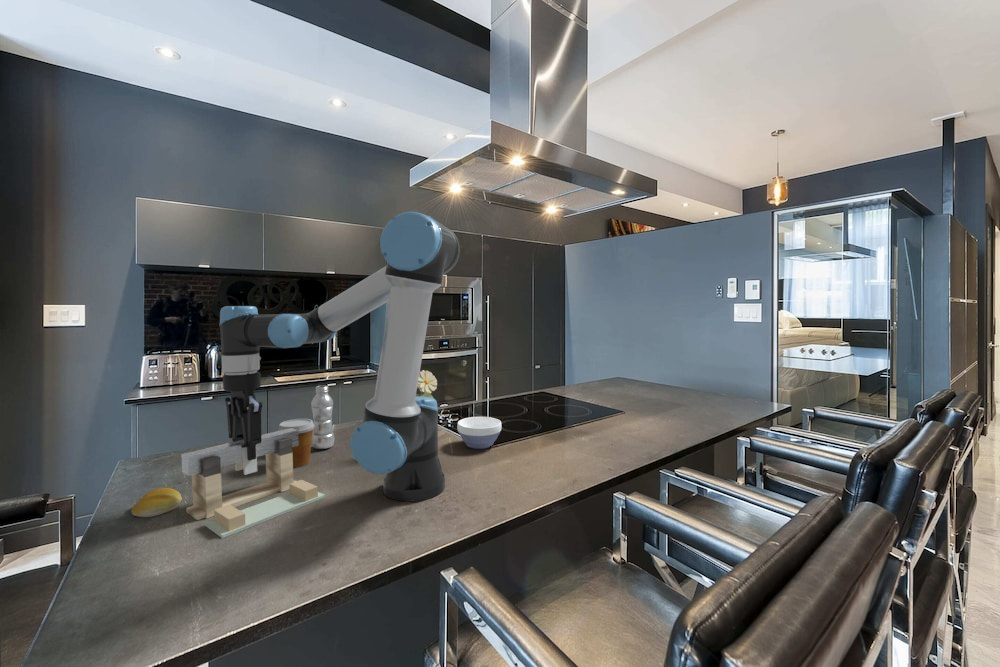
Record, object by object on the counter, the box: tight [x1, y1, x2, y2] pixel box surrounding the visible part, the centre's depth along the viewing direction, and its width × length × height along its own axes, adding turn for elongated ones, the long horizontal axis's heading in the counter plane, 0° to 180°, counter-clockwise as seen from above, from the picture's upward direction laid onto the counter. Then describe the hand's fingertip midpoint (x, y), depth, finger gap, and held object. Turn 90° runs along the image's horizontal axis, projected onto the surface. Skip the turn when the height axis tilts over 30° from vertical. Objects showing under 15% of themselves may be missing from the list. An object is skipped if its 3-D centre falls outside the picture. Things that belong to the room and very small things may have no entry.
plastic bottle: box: [310, 384, 335, 450], centre depth 135 cm, size 6×7×20 cm
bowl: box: [456, 416, 502, 450], centre depth 139 cm, size 14×14×8 cm
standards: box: [186, 438, 297, 521], centre depth 100 cm, size 7×22×12 cm, turn 145°
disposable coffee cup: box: [277, 418, 314, 468], centre depth 122 cm, size 10×10×12 cm
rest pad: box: [205, 479, 326, 539], centre depth 94 cm, size 8×22×3 cm, turn 145°
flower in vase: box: [417, 369, 438, 398], centre depth 136 cm, size 13×11×25 cm
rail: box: [180, 428, 299, 477], centre depth 100 cm, size 4×24×4 cm, turn 145°
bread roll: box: [131, 487, 183, 518], centre depth 95 cm, size 8×9×4 cm
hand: (246, 470), depth 100 cm, fingers closed on rail, 3 cm apart
